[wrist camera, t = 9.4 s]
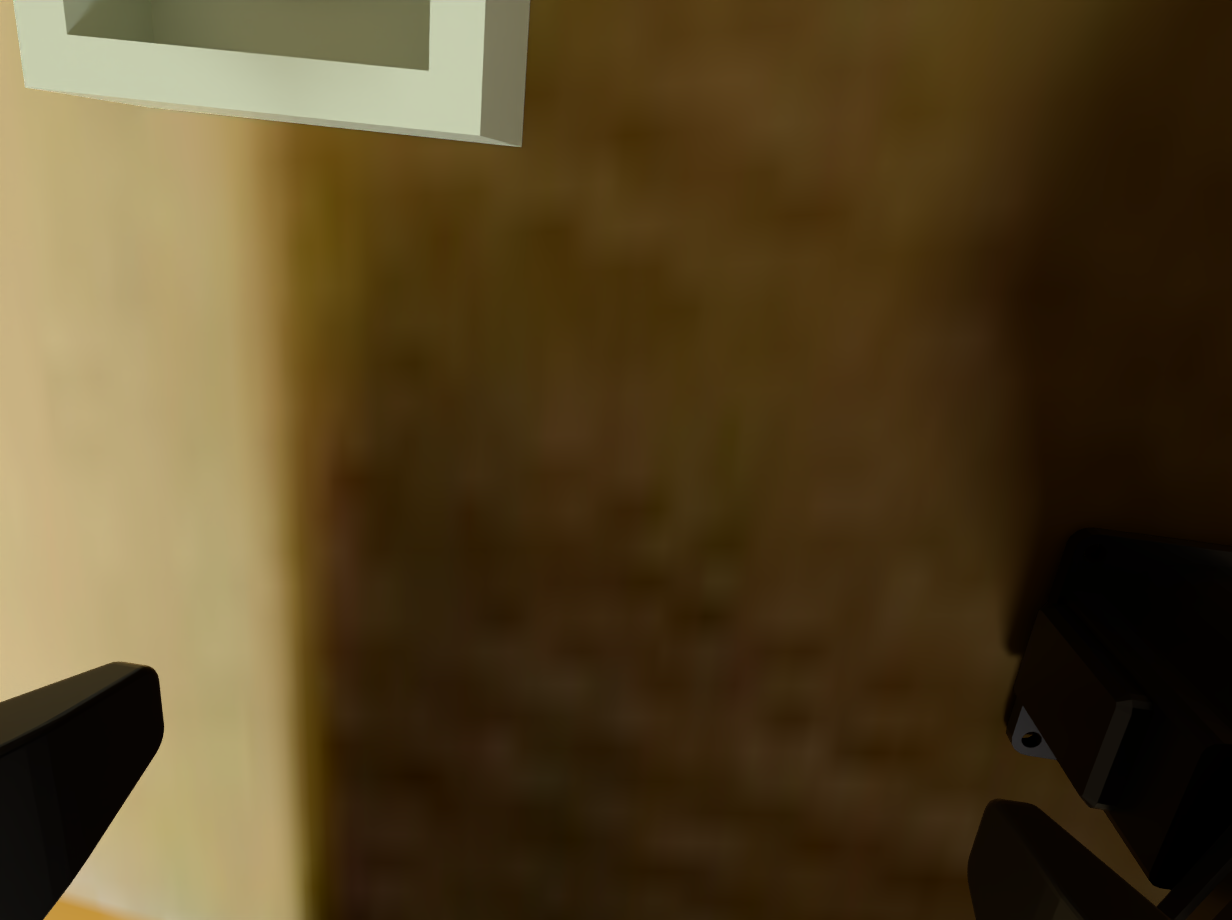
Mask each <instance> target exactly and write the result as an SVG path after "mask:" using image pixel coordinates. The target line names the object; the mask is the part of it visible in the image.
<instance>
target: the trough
mask: <svg viewBox="0 0 1232 920" xmlns="http://www.w3.org/2000/svg"><path fill="white" fill-rule="evenodd" d="M13 3H14V10H15V18H16V25H17V32H18V39H19V47H20V54H21V61H22V69H23V76H24V83H25V88H31V89H37V90H44V91H50V92H56V93H62V94H68V95H75V96H81V97H87V98H93V99H99V100H106V101H112V102H118V103H124V104H131V105H137V106H143V107H150V108H159V109H169V110H178V111H188V112H197V113H206V114H216V115H225V116H234V117H244V118H253V119H263V120H272V121H281V122H291V123H300V124H310V125H319V126H328V127H338V128H347V129H356V130H366V131H375V132H385V133H394V134H403V135H413V136H422V137H432V138H441V139H450V140H460V141H469V142H479V143H488V144H497V145H507V146H516V147H522V131H523V114H524V97H525V79H526V62H527V45H528V27H529V10H530V0H13Z"/></svg>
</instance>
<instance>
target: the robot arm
mask: <svg viewBox="0 0 1232 920" xmlns="http://www.w3.org/2000/svg"><path fill="white" fill-rule="evenodd" d="M1092 544H1099V548H1098V549H1097V551H1096V552H1095V553H1093V554H1092V555H1088V556H1084V552H1085V550H1086V549H1087V547H1089V546H1091V545H1092ZM1014 692H1015V694H1016V696H1017V697H1016V700H1015V703H1014V706H1013V710H1012V713H1011V716H1010V719H1009V722H1008V725H1007V730H1006V734H1007V736H1008V738H1009V740H1010V742H1011V744H1012V745H1013V747H1014V749H1015V750H1017V751H1018V752H1019V753H1021V754H1024V755H1029V756H1035V757H1042V758H1048V759H1055V760H1057V761H1058V762H1059V764H1060V765H1061V767H1062V769H1063V770H1064V772H1065V773H1066V775H1067V777H1068V778H1069V780H1070V781H1071V783H1072V785H1073V786H1074V788H1075V789H1076V791H1077V792H1078V794H1079V796H1080V797H1081V798H1082V799H1083V801H1084V802H1085V803H1086V804H1087V805H1088V806H1089V807H1090V808H1095V809H1101V810H1104V812H1105V813H1106V815H1107V817H1108V818H1109V820H1110V821H1111V823H1112V824H1113V826H1114V827H1115V829H1116V830H1117V832H1118V833H1119V835H1120V836H1121V838H1122V839H1123V841H1124V843H1125V844H1126V846H1127V847H1128V849H1129V850H1130V852H1131V853H1132V855H1133V856H1134V858H1135V859H1136V861H1137V862H1138V864H1139V866H1140V867H1141V869H1142V870H1143V872H1144V873H1145V875H1146V876H1147V878H1148V879H1149V881H1150V882H1151V883H1152V885H1154V886H1156V887H1159V888H1163V889H1169V890H1171V891H1170V892H1169V893H1168V894H1167V896H1166V897H1165V898H1164V899H1163V900H1162V901H1161V902H1160V903H1159V904H1158V906H1157V907H1156V906H1155V905H1153V904H1152V903H1151V902H1150V901H1149V900H1147V899H1146V898H1145V897H1144V896H1143V895H1142V894H1140V893H1139V892H1138V891H1137V890H1136V889H1134V888H1133V887H1132V886H1131V885H1130V884H1128V883H1127V882H1126V881H1125V880H1124V879H1123V878H1121V877H1120V876H1119V875H1118V874H1117V873H1115V872H1114V871H1113V870H1112V869H1111V868H1110V867H1108V866H1107V865H1106V864H1105V863H1104V862H1102V861H1101V860H1100V859H1099V858H1098V857H1096V856H1095V855H1094V854H1093V853H1092V852H1091V851H1089V850H1088V849H1087V848H1086V847H1085V846H1083V845H1082V844H1081V843H1080V842H1079V841H1077V840H1076V839H1075V838H1074V837H1073V836H1072V835H1070V834H1069V833H1068V832H1067V831H1066V830H1064V829H1063V828H1062V827H1061V826H1060V825H1058V824H1057V823H1056V822H1055V821H1054V820H1053V819H1051V818H1050V817H1049V816H1048V815H1047V814H1045V813H1044V812H1043V811H1042V810H1041V809H1039V808H1038V807H1037V806H1035V805H1032V804H1029V803H1024V802H1018V801H1011V800H1005V799H994V800H992V801H990V802H989V803H988V805H987V806H986V808H985V810H984V814H983V817H982V820H981V823H980V826H979V829H978V832H977V835H976V838H975V841H974V844H973V847H972V850H971V853H970V856H969V860H968V883H969V889H970V894H971V898H972V903H973V908H974V913H975V917H976V920H1232V546H1226V545H1218V544H1211V543H1203V542H1196V541H1188V540H1181V539H1173V538H1166V537H1158V536H1151V535H1143V534H1136V533H1128V532H1121V531H1113V530H1106V529H1098V528H1085V529H1082V530H1079V531H1077V532H1076V533H1075V534H1073V535H1072V536H1071V537H1070V539H1069V541H1068V542H1067V544H1066V547H1065V551H1064V554H1063V557H1062V560H1061V563H1060V566H1059V569H1058V572H1057V575H1056V578H1055V581H1054V584H1053V587H1052V590H1051V593H1050V596H1049V599H1048V603H1047V604H1045V605H1044V606H1043V607H1042V608H1041V609H1040V610H1039V611H1038V614H1037V617H1036V620H1035V623H1034V626H1033V629H1032V632H1031V635H1030V638H1029V641H1028V644H1027V648H1026V651H1025V654H1024V657H1023V660H1022V663H1021V666H1020V669H1019V672H1018V675H1017V678H1016V682H1015V685H1014ZM1028 732H1035V733H1034V734H1033V735H1032V736H1030V737H1028V738H1022V737H1023V736H1024V734H1026V733H1028ZM163 733H164V721H163V712H162V703H161V694H160V685H159V678H158V674H157V673H156V671H155V670H154V669H153V668H151V667H150V666H146V665H140V664H133V663H127V662H112V663H109V664H106V665H103V666H100V667H98V668H95V669H92V670H89V671H87V672H84V673H81V674H78V675H75V676H73V677H70V678H67V679H64V680H61V681H59V682H56V683H53V684H50V685H47V686H45V687H42V688H39V689H36V690H33V691H31V692H28V693H25V694H22V695H20V696H17V697H14V698H11V699H8V700H6V701H3V702H0V920H43V919H44V918H45V917H46V915H47V914H48V912H49V911H50V910H51V909H52V908H53V906H54V905H55V904H56V902H57V901H58V900H59V898H60V897H61V896H62V894H63V893H64V892H65V890H66V889H67V888H68V886H69V885H70V884H71V882H72V881H73V879H74V878H75V877H76V875H77V874H78V872H79V871H80V869H81V868H82V866H83V865H84V863H85V862H86V861H87V859H88V858H89V856H90V855H91V853H92V851H93V850H94V848H95V847H96V845H97V844H98V842H99V841H100V839H101V838H102V836H103V834H104V833H105V831H106V830H107V828H108V827H109V825H110V824H111V822H112V821H113V819H114V818H115V816H116V814H117V813H118V811H119V810H120V808H121V807H122V805H123V804H124V802H125V801H126V799H127V797H128V796H129V794H130V793H131V791H132V790H133V788H134V787H135V785H136V784H137V782H138V780H139V779H140V777H141V776H142V774H143V773H144V771H145V770H146V768H147V767H148V765H149V764H150V762H151V760H152V759H153V757H154V756H155V754H156V753H157V751H158V749H159V747H160V744H161V742H162V738H163Z"/></svg>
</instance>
